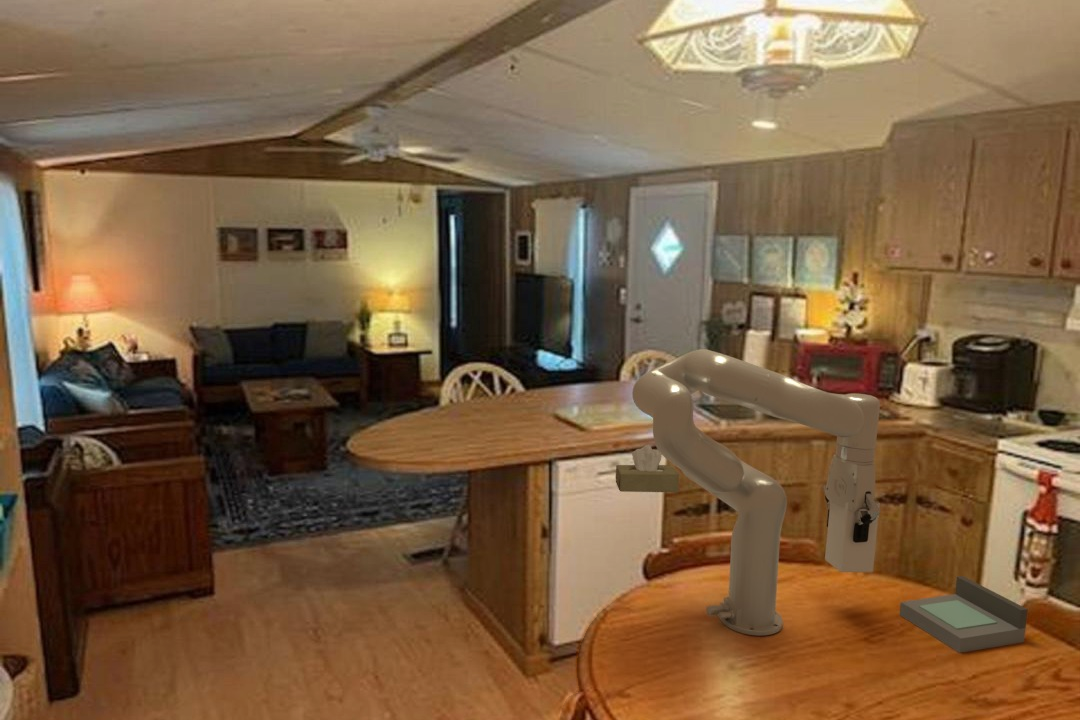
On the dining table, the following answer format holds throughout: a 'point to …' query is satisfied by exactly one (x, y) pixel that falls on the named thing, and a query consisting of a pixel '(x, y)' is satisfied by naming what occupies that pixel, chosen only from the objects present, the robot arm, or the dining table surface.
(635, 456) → the tissue box
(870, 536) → the milk carton
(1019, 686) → the dining table surface
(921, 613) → the plate
